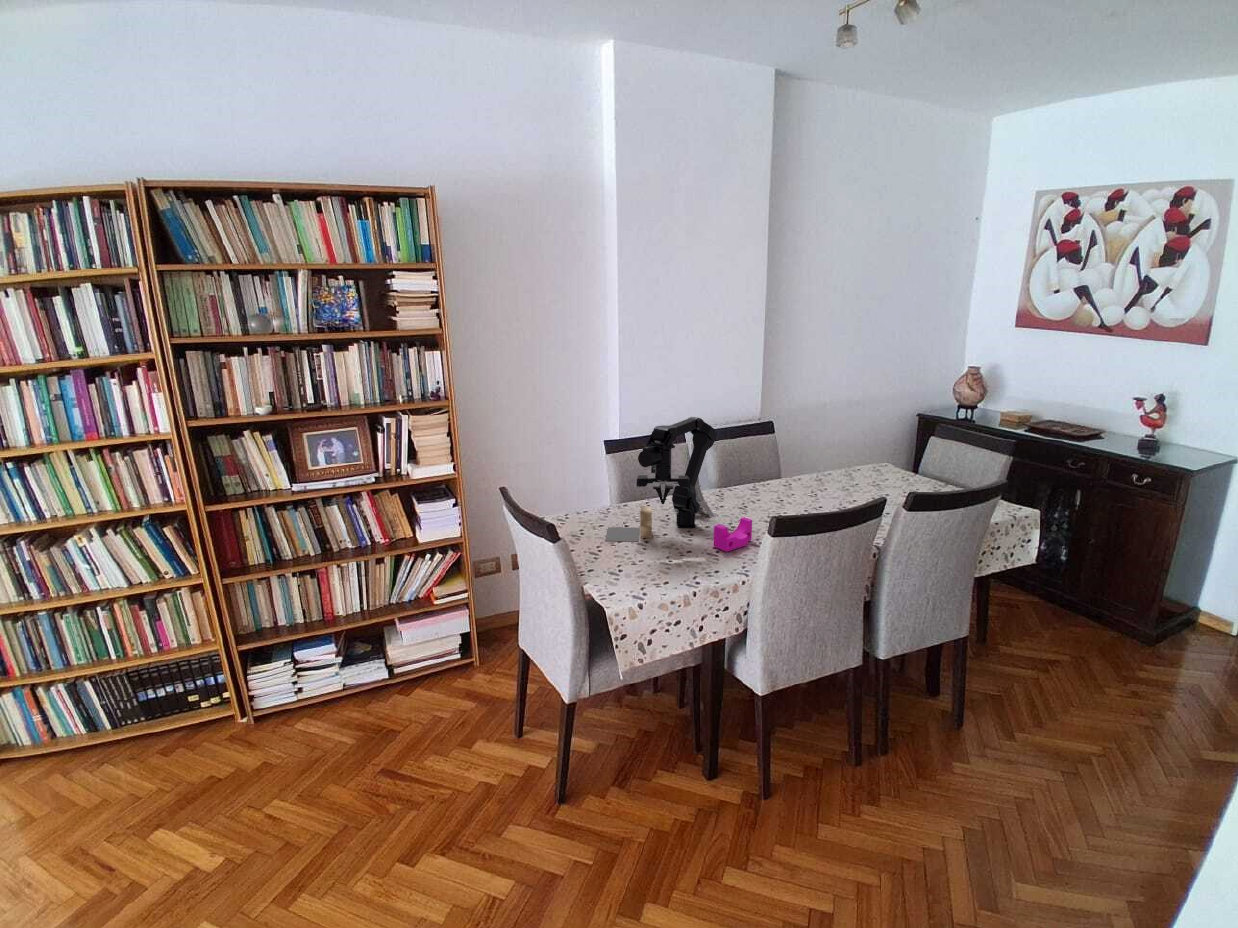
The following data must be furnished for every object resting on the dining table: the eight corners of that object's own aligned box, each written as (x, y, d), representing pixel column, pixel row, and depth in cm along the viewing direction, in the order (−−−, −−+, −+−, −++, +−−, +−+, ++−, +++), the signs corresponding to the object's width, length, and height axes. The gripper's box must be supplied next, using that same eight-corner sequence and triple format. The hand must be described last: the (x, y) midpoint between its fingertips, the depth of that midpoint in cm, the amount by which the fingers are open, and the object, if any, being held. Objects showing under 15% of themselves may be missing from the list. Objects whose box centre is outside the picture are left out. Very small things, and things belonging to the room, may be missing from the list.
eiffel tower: (701, 507, 263) (703, 436, 256) (716, 517, 251) (718, 443, 243) (671, 511, 259) (672, 438, 252) (685, 521, 247) (686, 445, 239)
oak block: (651, 532, 235) (651, 506, 233) (651, 537, 230) (651, 511, 227) (640, 531, 236) (640, 506, 233) (640, 537, 230) (640, 511, 227)
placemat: (639, 528, 240) (639, 527, 240) (638, 541, 226) (638, 541, 226) (608, 527, 240) (608, 527, 240) (604, 541, 227) (604, 540, 227)
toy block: (726, 551, 217) (727, 530, 215) (713, 546, 222) (714, 525, 220) (756, 541, 225) (757, 521, 224) (743, 536, 230) (744, 517, 229)
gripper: (688, 456, 233) (688, 497, 236) (637, 456, 234) (637, 497, 238) (690, 464, 222) (689, 506, 226) (636, 463, 223) (636, 506, 227)
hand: (662, 503), depth 229 cm, fingers closed
